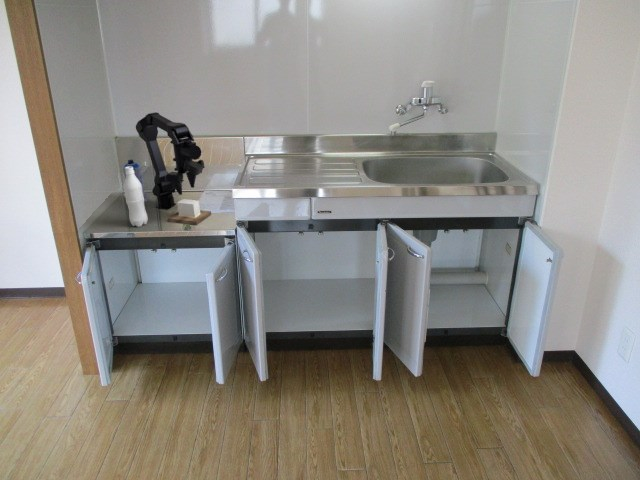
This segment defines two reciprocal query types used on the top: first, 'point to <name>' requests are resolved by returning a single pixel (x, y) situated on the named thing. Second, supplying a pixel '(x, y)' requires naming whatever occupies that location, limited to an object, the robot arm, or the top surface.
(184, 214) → the block
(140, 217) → the water bottle
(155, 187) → the robot arm
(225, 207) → the top surface
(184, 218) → the board
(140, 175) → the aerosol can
